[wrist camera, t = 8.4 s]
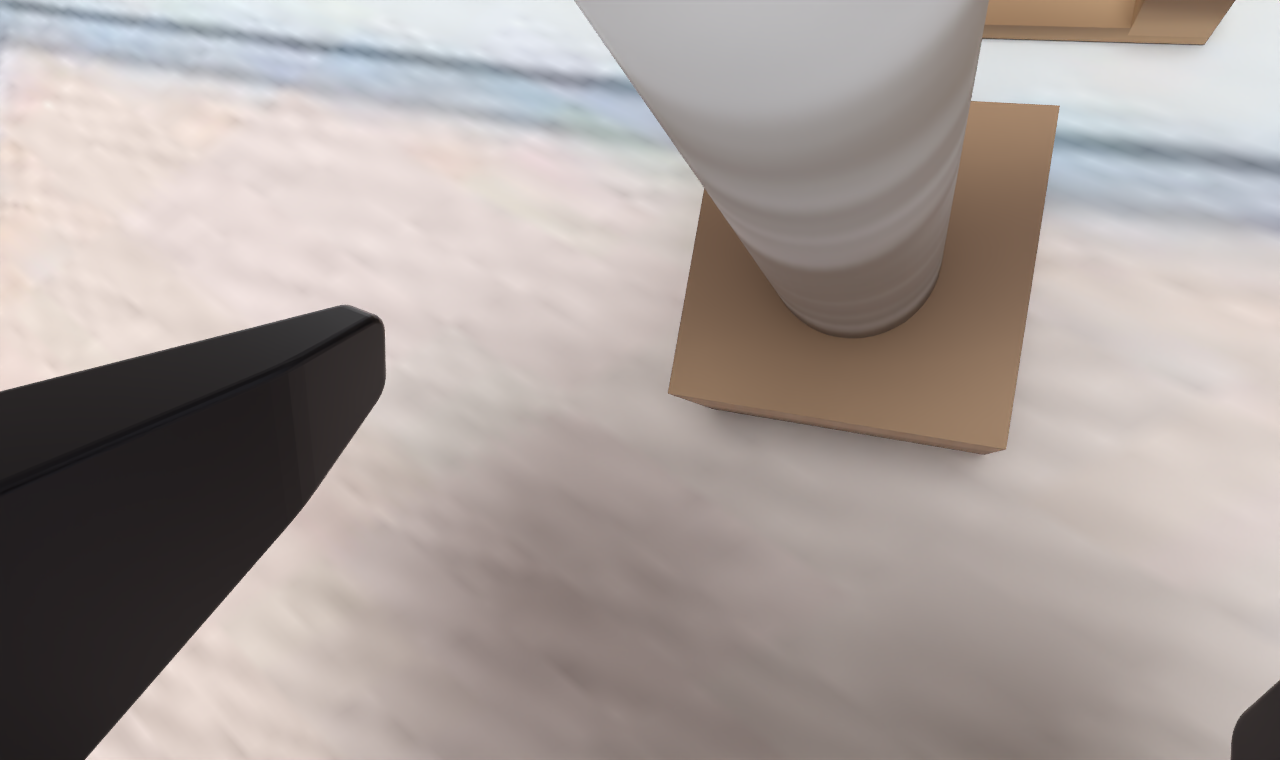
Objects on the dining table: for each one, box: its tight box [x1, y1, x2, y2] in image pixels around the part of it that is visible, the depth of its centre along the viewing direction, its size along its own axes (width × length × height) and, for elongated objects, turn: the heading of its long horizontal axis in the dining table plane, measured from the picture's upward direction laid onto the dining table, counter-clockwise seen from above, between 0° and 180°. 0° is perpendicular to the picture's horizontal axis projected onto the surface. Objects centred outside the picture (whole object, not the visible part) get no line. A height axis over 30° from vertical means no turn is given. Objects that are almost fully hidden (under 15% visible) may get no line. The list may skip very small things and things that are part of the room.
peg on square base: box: [574, 0, 1060, 455], centre depth 12 cm, size 6×6×15 cm
